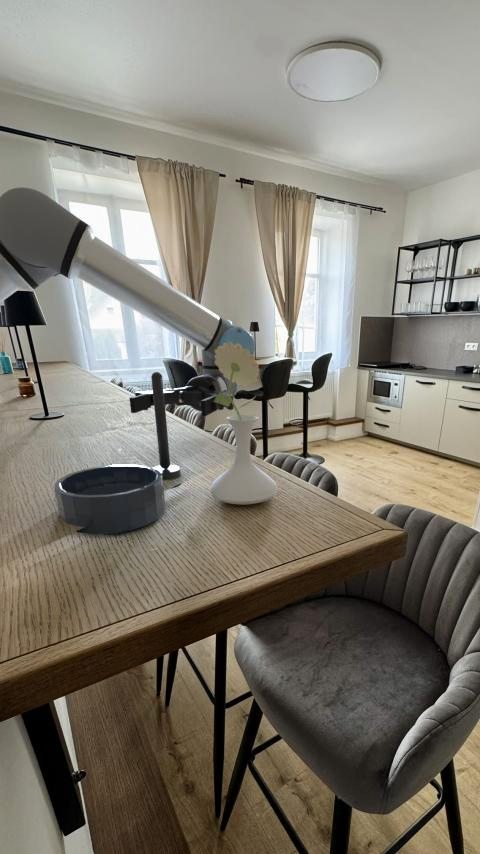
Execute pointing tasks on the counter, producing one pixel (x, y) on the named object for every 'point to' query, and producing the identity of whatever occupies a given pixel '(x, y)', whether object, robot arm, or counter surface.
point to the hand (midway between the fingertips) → (167, 407)
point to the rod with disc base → (162, 431)
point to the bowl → (111, 498)
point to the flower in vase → (240, 433)
